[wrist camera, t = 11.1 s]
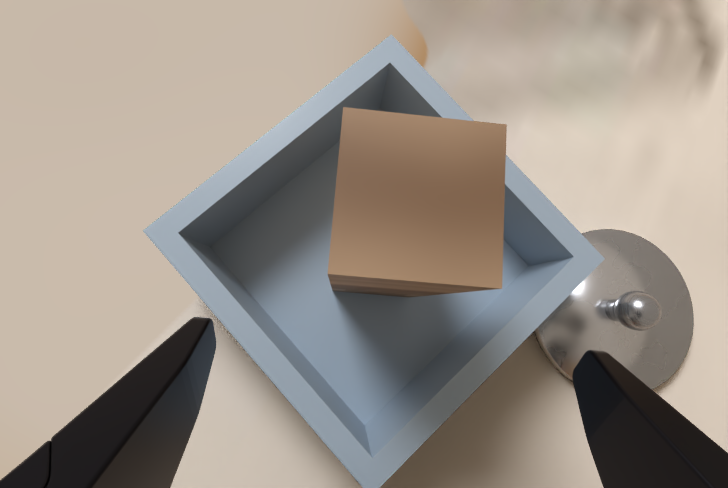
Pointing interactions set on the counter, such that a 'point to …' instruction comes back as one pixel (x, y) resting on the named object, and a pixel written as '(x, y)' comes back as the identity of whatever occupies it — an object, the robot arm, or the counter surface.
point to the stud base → (618, 338)
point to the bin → (355, 310)
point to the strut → (417, 205)
